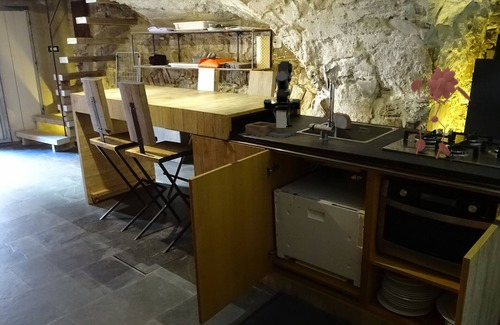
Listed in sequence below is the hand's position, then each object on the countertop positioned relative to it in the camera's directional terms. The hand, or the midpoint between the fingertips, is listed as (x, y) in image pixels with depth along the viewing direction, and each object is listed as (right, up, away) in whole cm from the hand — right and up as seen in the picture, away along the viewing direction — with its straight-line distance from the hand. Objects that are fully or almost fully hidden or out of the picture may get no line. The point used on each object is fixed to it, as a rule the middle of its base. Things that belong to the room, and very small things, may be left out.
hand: (281, 117), depth 208 cm
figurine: (+61, -20, -40) cm, 75 cm away
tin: (+35, -4, +20) cm, 40 cm away
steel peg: (0, -5, +3) cm, 5 cm away
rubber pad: (0, -9, +4) cm, 10 cm away
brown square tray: (-10, -8, +10) cm, 16 cm away
